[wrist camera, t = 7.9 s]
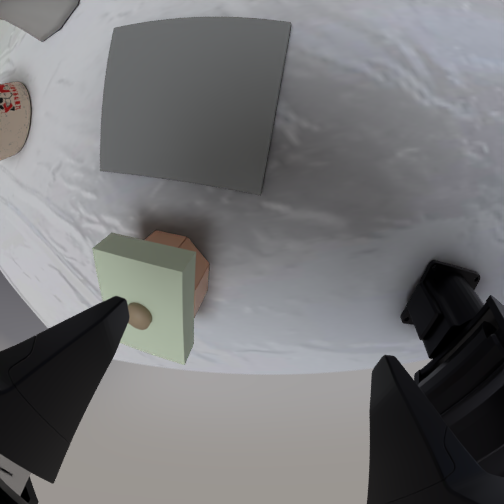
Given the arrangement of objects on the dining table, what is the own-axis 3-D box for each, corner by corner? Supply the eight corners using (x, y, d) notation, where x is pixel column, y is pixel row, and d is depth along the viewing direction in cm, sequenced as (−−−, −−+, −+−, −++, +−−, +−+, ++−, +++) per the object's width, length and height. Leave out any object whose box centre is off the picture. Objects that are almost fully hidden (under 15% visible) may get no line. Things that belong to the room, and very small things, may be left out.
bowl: (211, 242, 21) (196, 266, 18) (206, 307, 24) (193, 335, 21) (135, 225, 21) (111, 245, 18) (140, 289, 25) (122, 312, 21)
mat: (291, 25, 12) (291, 22, 12) (261, 192, 18) (260, 195, 18) (118, 29, 13) (114, 28, 13) (104, 169, 19) (100, 171, 19)
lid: (196, 251, 17) (178, 278, 15) (193, 343, 22) (182, 370, 19) (111, 232, 18) (87, 252, 15) (126, 322, 22) (110, 345, 19)
